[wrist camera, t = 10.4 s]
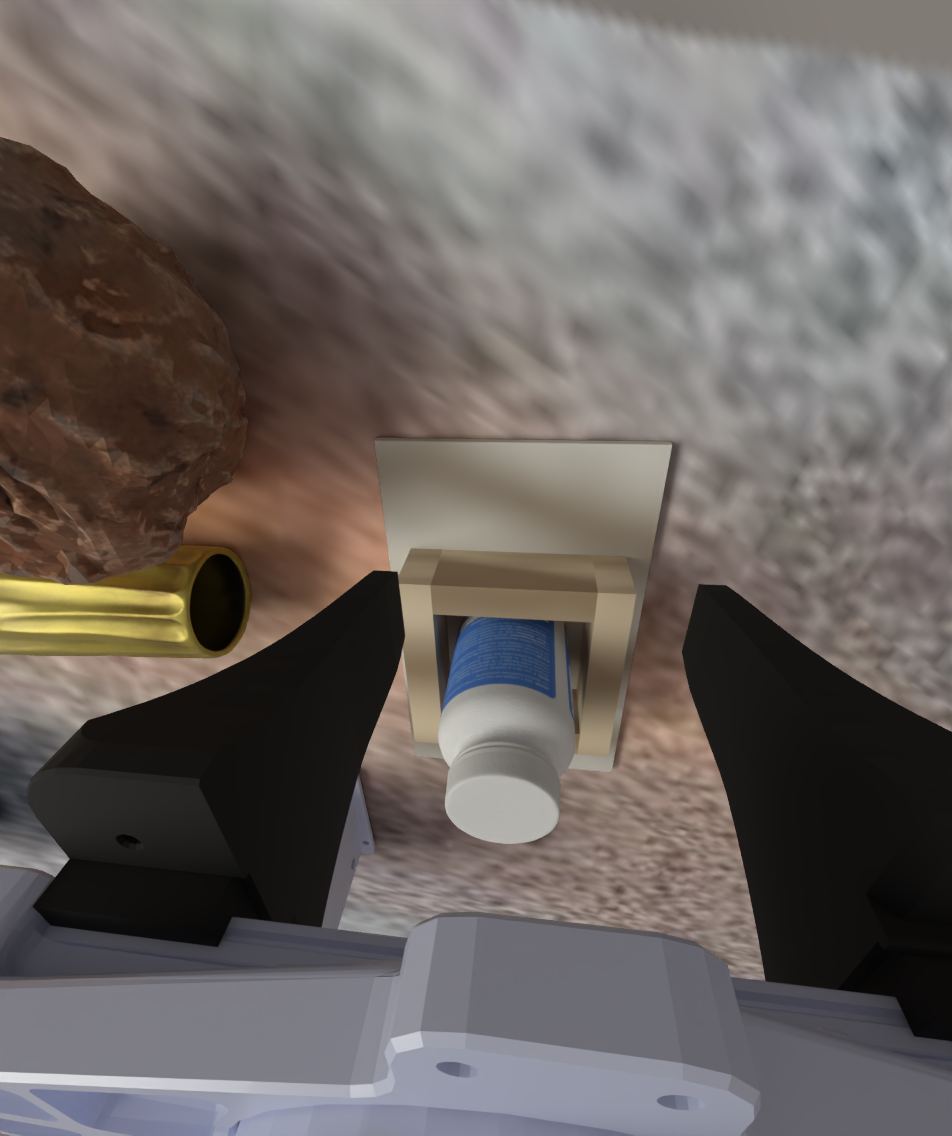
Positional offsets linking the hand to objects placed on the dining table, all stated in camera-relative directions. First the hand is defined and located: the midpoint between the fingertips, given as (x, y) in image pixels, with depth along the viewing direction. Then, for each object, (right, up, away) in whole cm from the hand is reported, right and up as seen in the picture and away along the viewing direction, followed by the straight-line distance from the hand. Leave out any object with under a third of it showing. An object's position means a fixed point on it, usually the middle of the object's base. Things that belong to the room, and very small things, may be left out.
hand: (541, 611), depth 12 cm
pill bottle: (0, -2, +13) cm, 13 cm away
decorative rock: (-15, +10, +9) cm, 20 cm away
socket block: (0, -2, +14) cm, 14 cm away
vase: (-28, 0, +13) cm, 31 cm away
